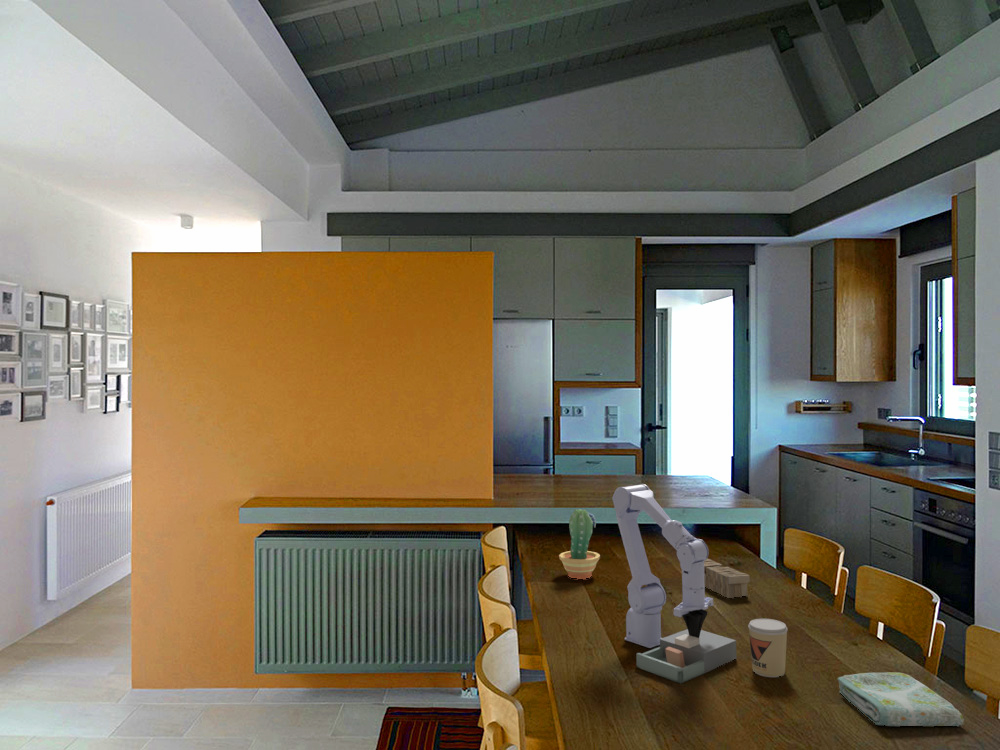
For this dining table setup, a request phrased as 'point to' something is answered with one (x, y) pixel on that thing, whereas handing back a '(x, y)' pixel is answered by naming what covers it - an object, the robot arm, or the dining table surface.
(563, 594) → the dining table surface
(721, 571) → the block tower
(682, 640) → the cream tile
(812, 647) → the dining table surface
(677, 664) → the terracotta tile
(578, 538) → the potted cactus
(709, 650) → the grey drawer housing
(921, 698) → the towel
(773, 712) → the dining table surface
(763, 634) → the coffee cup
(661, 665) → the grey-green drawer
